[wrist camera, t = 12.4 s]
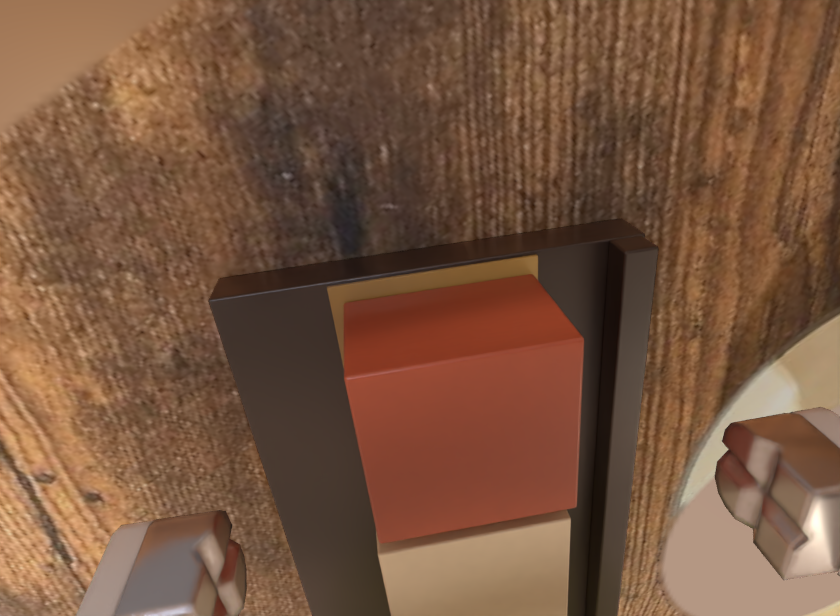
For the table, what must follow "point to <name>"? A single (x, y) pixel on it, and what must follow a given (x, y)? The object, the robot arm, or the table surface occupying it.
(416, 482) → the tile
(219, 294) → the tray
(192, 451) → the table surface
